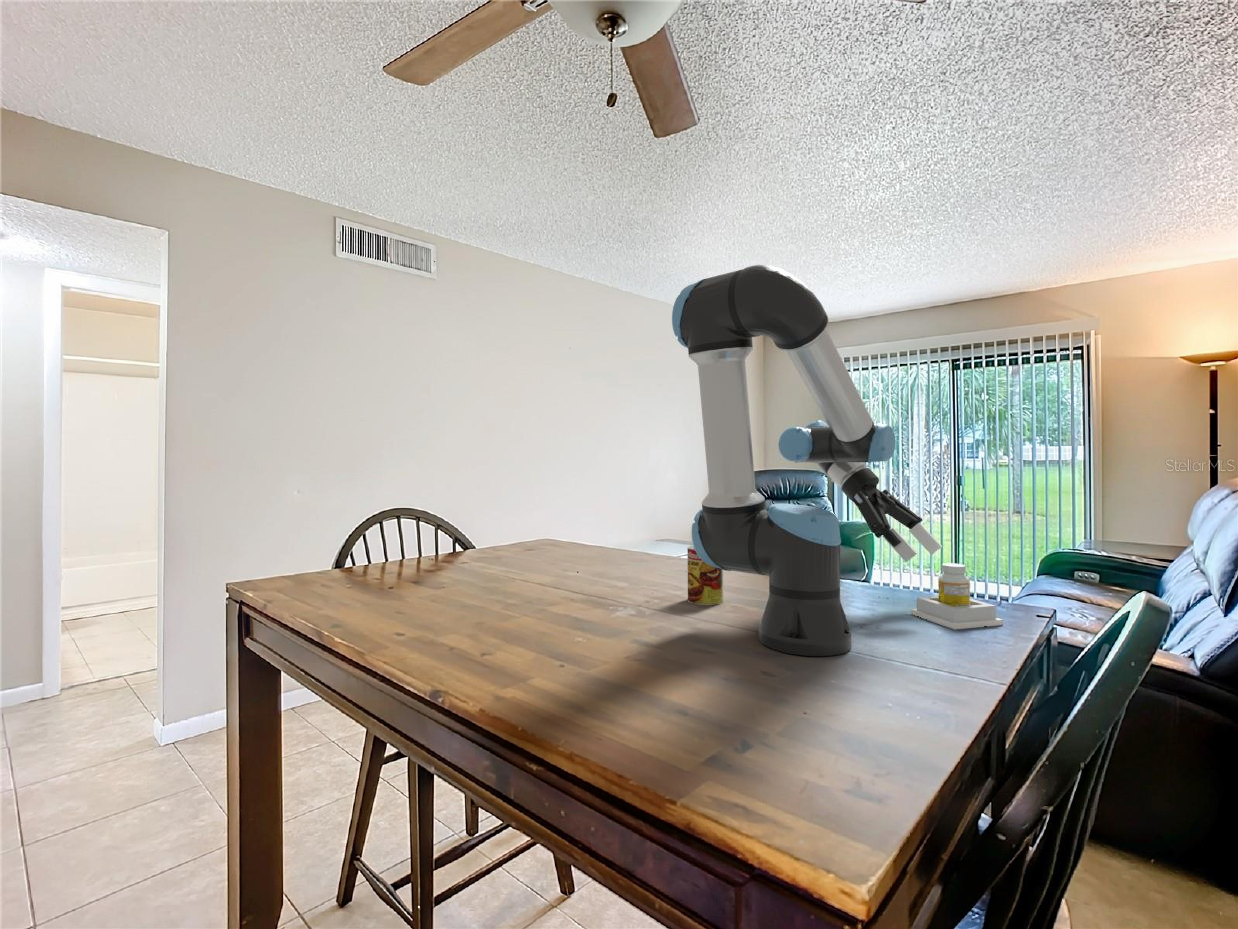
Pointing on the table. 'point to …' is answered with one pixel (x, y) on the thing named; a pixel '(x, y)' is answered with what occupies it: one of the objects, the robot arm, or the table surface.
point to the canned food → (703, 581)
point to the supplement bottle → (954, 585)
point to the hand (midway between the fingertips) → (924, 554)
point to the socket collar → (957, 613)
